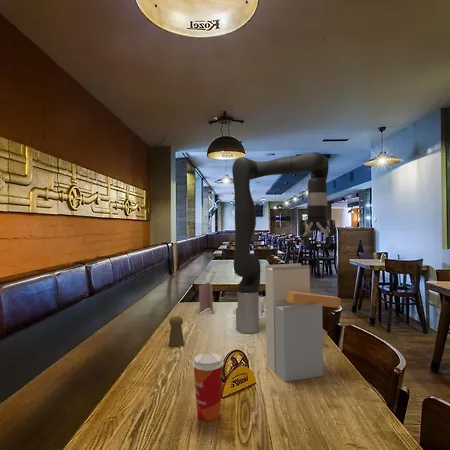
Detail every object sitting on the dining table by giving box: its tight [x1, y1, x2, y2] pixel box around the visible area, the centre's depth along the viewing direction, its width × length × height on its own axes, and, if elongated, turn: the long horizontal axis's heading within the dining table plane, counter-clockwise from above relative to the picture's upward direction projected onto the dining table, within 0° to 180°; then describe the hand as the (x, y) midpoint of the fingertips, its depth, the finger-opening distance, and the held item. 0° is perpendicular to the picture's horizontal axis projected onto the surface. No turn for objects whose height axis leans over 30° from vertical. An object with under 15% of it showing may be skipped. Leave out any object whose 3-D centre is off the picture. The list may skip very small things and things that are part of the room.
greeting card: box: [198, 282, 214, 314], centre depth 179 cm, size 11×7×15 cm, turn 157°
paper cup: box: [192, 352, 224, 422], centre depth 83 cm, size 8×8×14 cm
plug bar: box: [286, 291, 342, 309], centre depth 105 cm, size 20×3×3 cm, turn 120°
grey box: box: [275, 302, 324, 383], centre depth 104 cm, size 13×6×22 cm, turn 107°
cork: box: [168, 315, 185, 348], centre depth 131 cm, size 6×6×11 cm
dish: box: [232, 295, 266, 321], centre depth 176 cm, size 25×25×11 cm
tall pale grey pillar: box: [264, 262, 311, 373], centre depth 111 cm, size 13×6×33 cm, turn 107°
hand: (316, 246), depth 131 cm, fingers open, 8 cm apart
